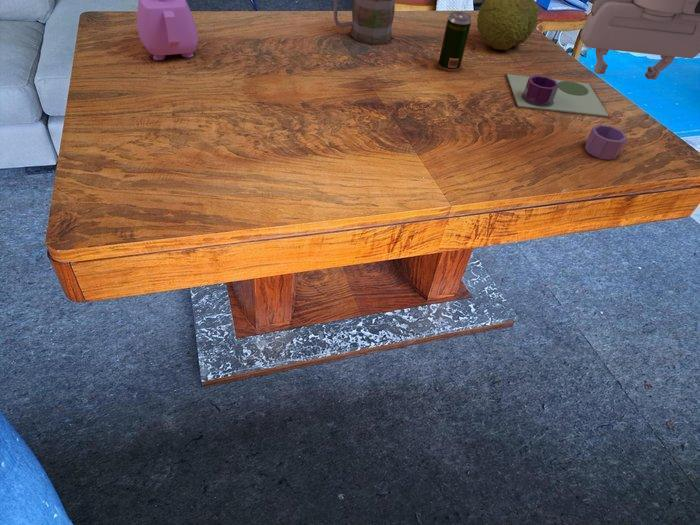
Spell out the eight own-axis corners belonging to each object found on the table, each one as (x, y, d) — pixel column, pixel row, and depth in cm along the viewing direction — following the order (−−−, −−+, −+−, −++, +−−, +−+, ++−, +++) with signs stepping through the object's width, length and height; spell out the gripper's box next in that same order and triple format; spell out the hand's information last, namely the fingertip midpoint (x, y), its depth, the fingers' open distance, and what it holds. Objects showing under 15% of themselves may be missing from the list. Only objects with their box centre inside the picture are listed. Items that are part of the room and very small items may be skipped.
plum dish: (548, 94, 116) (554, 77, 113) (554, 107, 112) (561, 89, 109) (521, 91, 116) (527, 74, 113) (526, 104, 111) (532, 86, 109)
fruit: (528, 63, 129) (517, 7, 119) (476, 66, 138) (461, 14, 127) (549, 25, 135) (541, -31, 125) (498, 31, 144) (486, -22, 134)
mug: (389, 30, 137) (396, -19, 129) (392, 46, 130) (399, -5, 121) (331, 25, 136) (334, -25, 128) (331, 41, 128) (334, -11, 120)
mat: (588, 84, 123) (589, 82, 123) (608, 117, 111) (609, 115, 111) (506, 75, 123) (507, 73, 122) (517, 107, 111) (518, 104, 111)
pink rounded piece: (208, 65, 112) (201, 4, 104) (149, 71, 108) (136, 8, 99) (189, 31, 125) (181, -26, 116) (135, 35, 121) (123, -24, 112)
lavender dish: (611, 144, 103) (620, 126, 100) (621, 161, 98) (630, 143, 96) (581, 141, 103) (589, 123, 100) (589, 157, 98) (598, 139, 96)
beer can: (463, 71, 122) (476, 19, 114) (443, 72, 121) (454, 19, 112) (454, 62, 126) (466, 10, 117) (434, 63, 124) (444, 11, 116)
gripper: (605, -8, 81) (572, 76, 90) (732, 6, 81) (686, 89, 90) (594, -20, 85) (563, 62, 95) (715, -7, 85) (672, 73, 95)
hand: (624, 75), depth 93 cm, fingers open, 8 cm apart
